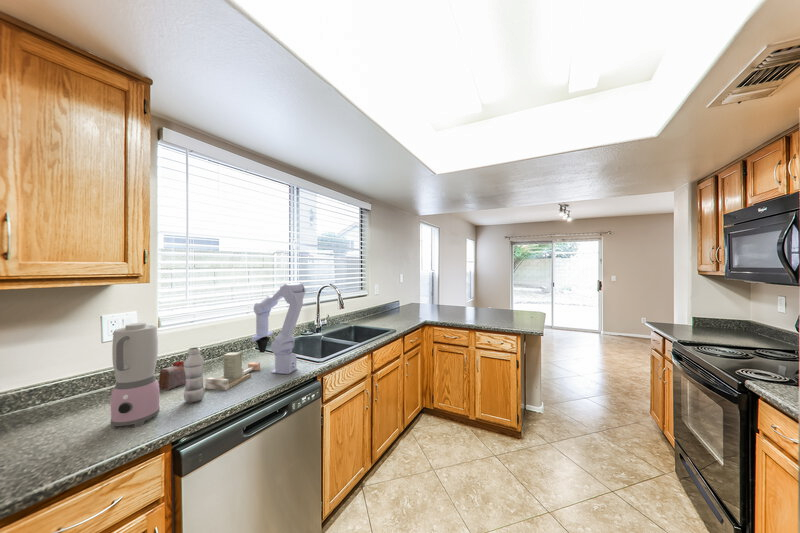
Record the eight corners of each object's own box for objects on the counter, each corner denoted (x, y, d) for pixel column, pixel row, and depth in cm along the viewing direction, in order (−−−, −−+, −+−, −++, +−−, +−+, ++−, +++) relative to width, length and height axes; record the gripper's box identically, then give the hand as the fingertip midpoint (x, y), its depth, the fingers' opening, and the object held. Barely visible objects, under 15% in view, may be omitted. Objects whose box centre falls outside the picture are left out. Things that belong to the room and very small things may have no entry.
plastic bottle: (194, 405, 109) (194, 351, 109) (179, 403, 110) (178, 350, 110) (208, 398, 115) (208, 346, 115) (194, 396, 116) (194, 345, 116)
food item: (188, 377, 137) (188, 356, 137) (201, 379, 135) (201, 357, 135) (156, 389, 124) (156, 365, 124) (170, 391, 122) (170, 367, 122)
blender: (125, 413, 103) (125, 322, 103) (166, 408, 106) (166, 320, 106) (92, 438, 88) (92, 331, 88) (142, 432, 91) (142, 328, 91)
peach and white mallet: (260, 368, 147) (260, 360, 147) (244, 377, 136) (244, 368, 136) (251, 368, 148) (251, 360, 148) (234, 376, 137) (234, 367, 137)
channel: (251, 376, 137) (251, 368, 137) (225, 390, 122) (225, 380, 122) (232, 375, 139) (232, 366, 139) (205, 388, 124) (205, 378, 124)
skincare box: (242, 378, 135) (242, 352, 135) (236, 382, 130) (236, 355, 130) (229, 378, 135) (229, 351, 135) (222, 382, 131) (222, 354, 131)
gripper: (264, 322, 161) (264, 347, 161) (245, 328, 146) (245, 355, 146) (276, 323, 159) (276, 348, 159) (258, 328, 145) (258, 356, 145)
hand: (262, 352), depth 153 cm, fingers closed
